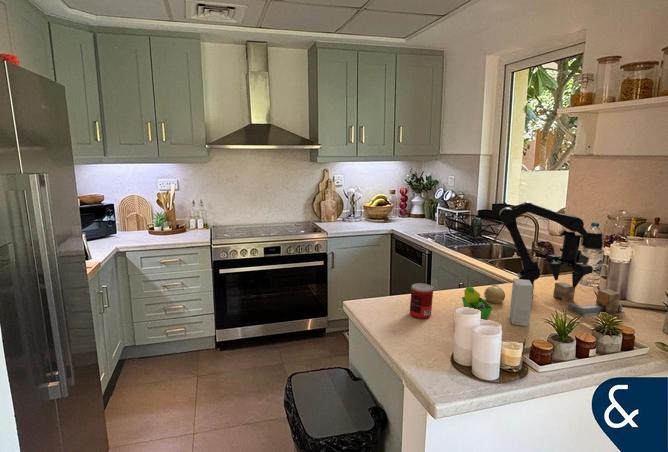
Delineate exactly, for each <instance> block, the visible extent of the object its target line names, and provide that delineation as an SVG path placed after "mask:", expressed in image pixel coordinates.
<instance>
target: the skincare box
mask: <svg viewBox="0 0 668 452" xmlns="http://www.w3.org/2000/svg"><path fill="white" fill-rule="evenodd" d="M532 290H533V291H534V289H533V285H532V283H531V282H530V280H522V279H519V278H513V279H512V289H511V299H510V309H509V318H510V322H511V324H512V325H515V326H516V325H517V326H521V327H528V328H529V327H530V320H531V311H532V310H531V309H532V299H533V294H532Z"/></svg>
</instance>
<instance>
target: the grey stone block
mask: <svg viewBox="0 0 668 452" xmlns="http://www.w3.org/2000/svg"><path fill="white" fill-rule="evenodd" d="M575 292H576V287H575V288H574V287H573V285H572V284H570V283H567V282H564V281H562V282H555V283H554V288H553V298H559V299H561V301H562V302H571V301H574V297H575Z"/></svg>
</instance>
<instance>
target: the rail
mask: <svg viewBox="0 0 668 452" xmlns="http://www.w3.org/2000/svg"><path fill="white" fill-rule="evenodd" d="M564 309H567V310H569V311H570V312H572V313H575V314H577V315H579V316H582V317H584V318H585V317H586V318H587V317H596V316H600V315H599V314H600V312H606V313H608V314H607V315H616V314H625V313H626V312H625V311H622V310H623V304H621V303H619V307H618V311H613V312H607V311H606V306H603V305H596V304H588V305H576V304H574V303H572V302H568V304H567V307H564Z"/></svg>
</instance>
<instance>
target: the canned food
mask: <svg viewBox="0 0 668 452" xmlns="http://www.w3.org/2000/svg"><path fill="white" fill-rule="evenodd" d="M410 289H411V290H410V291H411V292H410V303H409V314H410V316H411V317H412V318H414V319H417V320H428V319H430V317H431V316H432V307H433V299H434V298H433V296H434V286H432V285H430V284H427V283H421V282H420V283H414V284H413V283H412V285H411V287H410Z"/></svg>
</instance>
